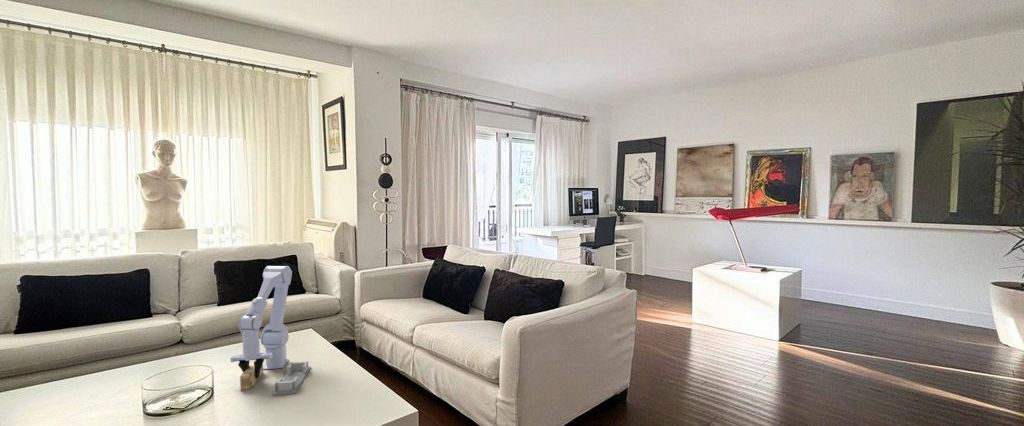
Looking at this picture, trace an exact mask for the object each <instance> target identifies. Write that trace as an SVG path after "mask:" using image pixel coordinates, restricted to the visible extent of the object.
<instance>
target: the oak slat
mask: <svg viewBox="0 0 1024 426" xmlns="http://www.w3.org/2000/svg"><path fill="white" fill-rule="evenodd" d="M255 361H256V360H253V362H252V363H251V364H249V367H248V368H247V369H246V370H245V371H244V372H243V371H242V373H241V375H240V376H239V380H240V381H239V382H240V385H239V386H240V391H241V392H243V391H250V390H251V389H252V388H253V386H254V385H255V384H256V382H258V380H259V379H260V377H261V376H262V375H263V374H264V370H263V368H264V363H263V364H262V366H261V369H260V373H259V377H258V378H255V366H254V362H255Z"/></svg>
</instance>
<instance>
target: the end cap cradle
mask: <svg viewBox="0 0 1024 426" xmlns="http://www.w3.org/2000/svg"><path fill="white" fill-rule="evenodd" d="M311 369H312V366H311V365H310V366H309V361H300V362H299V361H298V362H290V363H289V364H288V366H287V367H286V374H285V376H284V377H279V378H277V380H276V382H275V383H274V391H273V392H272V393H271V396H272V397H275V396H284V395H285V396H287V395H295V394H297V391H298V390H299V388H300V387H301V386H302V384H303V382H304V380H305V379H306V377H307V375H308V373H309V372H310V371H311Z"/></svg>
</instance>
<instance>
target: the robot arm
mask: <svg viewBox="0 0 1024 426" xmlns="http://www.w3.org/2000/svg"><path fill="white" fill-rule="evenodd" d="M292 277H293V270H292V269H291V267H290V266H289V265H284V266H283V265H267V266H266V267H265V268H264V269H263V273H262V278H263V279H262V280H263V281H262V283H261V287H260V290H259V292H258V295H257V297H255V298H253V299H252V301H251V303H250V305H249V306H248V309H247V312H246V313H245V314H244V315H243V316H242V317H241V318H240V319H239V322H238V325H237V326H238V328H239V330H240V334H241V336H242V354H237V355H232V356H231V357H230V363H234V362H238V364H237V365H238V367H239V368H240V369H241V371H242V373H243V372H244V371H245V370H246V369H247V368H248V367H249V366H250V361H253V362H254V360H256V361H255V362H254V366H255V378H258V377H259V373H260V369H261V366H262V364H263V371H265V370H275V369H277V370H278V369H283V368H284V367H285V366H286V364H287V363H288V362H289V361H290V359H289V358H287V346H286V345H287V343H288V341H289V339H290V338H289V327H288V326H287V325H285V324H284V319H285V317H284V316H285V311H286V304H287V299H288V298H287V297H288V290H289V286H290V285H291V281H292ZM273 289H274V294H273V299H272V300H273V301H272V304H271V305H272V306H271V313H270V317H269V318H270V320H269V323H268V324H267V325H266V326H264V327H263V329H262V333H261V334H260V328H261V327H262V325H263V317H264V316H263V315H264V312H265V310H266V308H267V305H268V301H267V299H268V298H269V296H270V294H271V292H272V291H273ZM260 343H261V345H262V346H263V348H265V352H261V351H260V349H261V348H260ZM264 361H265V366H264ZM259 378H260V377H259Z"/></svg>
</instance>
